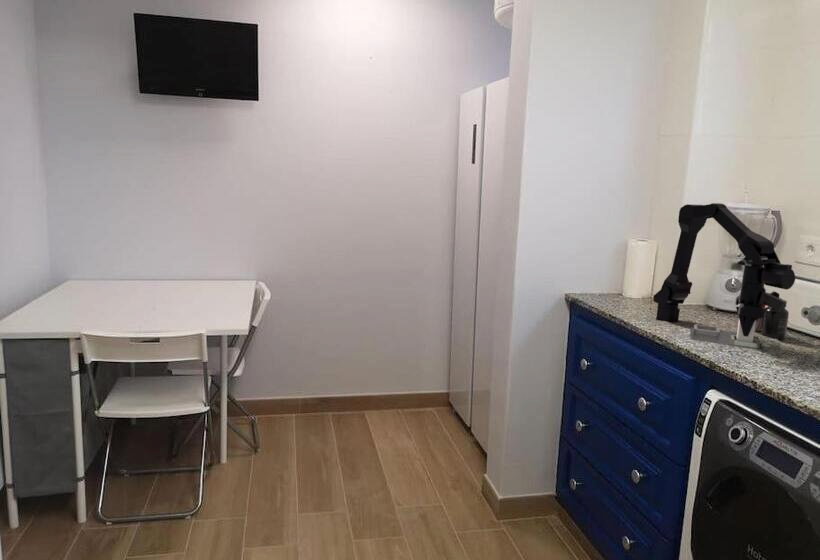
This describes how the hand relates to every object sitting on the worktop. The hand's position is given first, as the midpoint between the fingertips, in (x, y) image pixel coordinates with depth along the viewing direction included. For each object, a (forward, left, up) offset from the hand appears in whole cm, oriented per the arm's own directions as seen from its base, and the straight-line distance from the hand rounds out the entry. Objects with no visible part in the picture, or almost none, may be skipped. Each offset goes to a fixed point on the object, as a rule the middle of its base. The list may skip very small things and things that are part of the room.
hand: (745, 334), depth 180 cm
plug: (0, 0, -2) cm, 2 cm away
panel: (-5, +4, -3) cm, 7 cm away
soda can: (+3, +22, -4) cm, 23 cm away
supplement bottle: (+9, +16, -4) cm, 19 cm away
